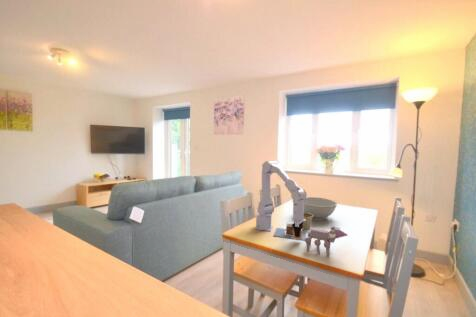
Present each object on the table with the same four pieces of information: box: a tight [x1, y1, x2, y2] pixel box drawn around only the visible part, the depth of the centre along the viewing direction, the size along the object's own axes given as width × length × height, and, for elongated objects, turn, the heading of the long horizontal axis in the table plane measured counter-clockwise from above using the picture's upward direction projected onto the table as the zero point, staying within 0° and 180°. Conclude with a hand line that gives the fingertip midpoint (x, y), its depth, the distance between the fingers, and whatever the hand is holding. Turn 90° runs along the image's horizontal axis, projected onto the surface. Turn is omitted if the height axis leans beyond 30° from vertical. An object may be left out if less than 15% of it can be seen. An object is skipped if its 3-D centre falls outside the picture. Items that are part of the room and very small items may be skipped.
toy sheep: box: [304, 225, 348, 257], centre depth 118 cm, size 20×11×14 cm, turn 59°
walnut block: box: [285, 223, 293, 235], centre depth 141 cm, size 4×4×5 cm
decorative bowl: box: [304, 196, 338, 221], centre depth 172 cm, size 27×27×12 cm
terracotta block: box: [292, 228, 303, 241], centre depth 129 cm, size 4×4×5 cm
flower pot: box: [302, 213, 313, 230], centre depth 151 cm, size 9×9×9 cm
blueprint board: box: [273, 227, 307, 242], centre depth 141 cm, size 18×13×1 cm
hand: (297, 235), depth 130 cm, fingers closed on terracotta block, 4 cm apart
